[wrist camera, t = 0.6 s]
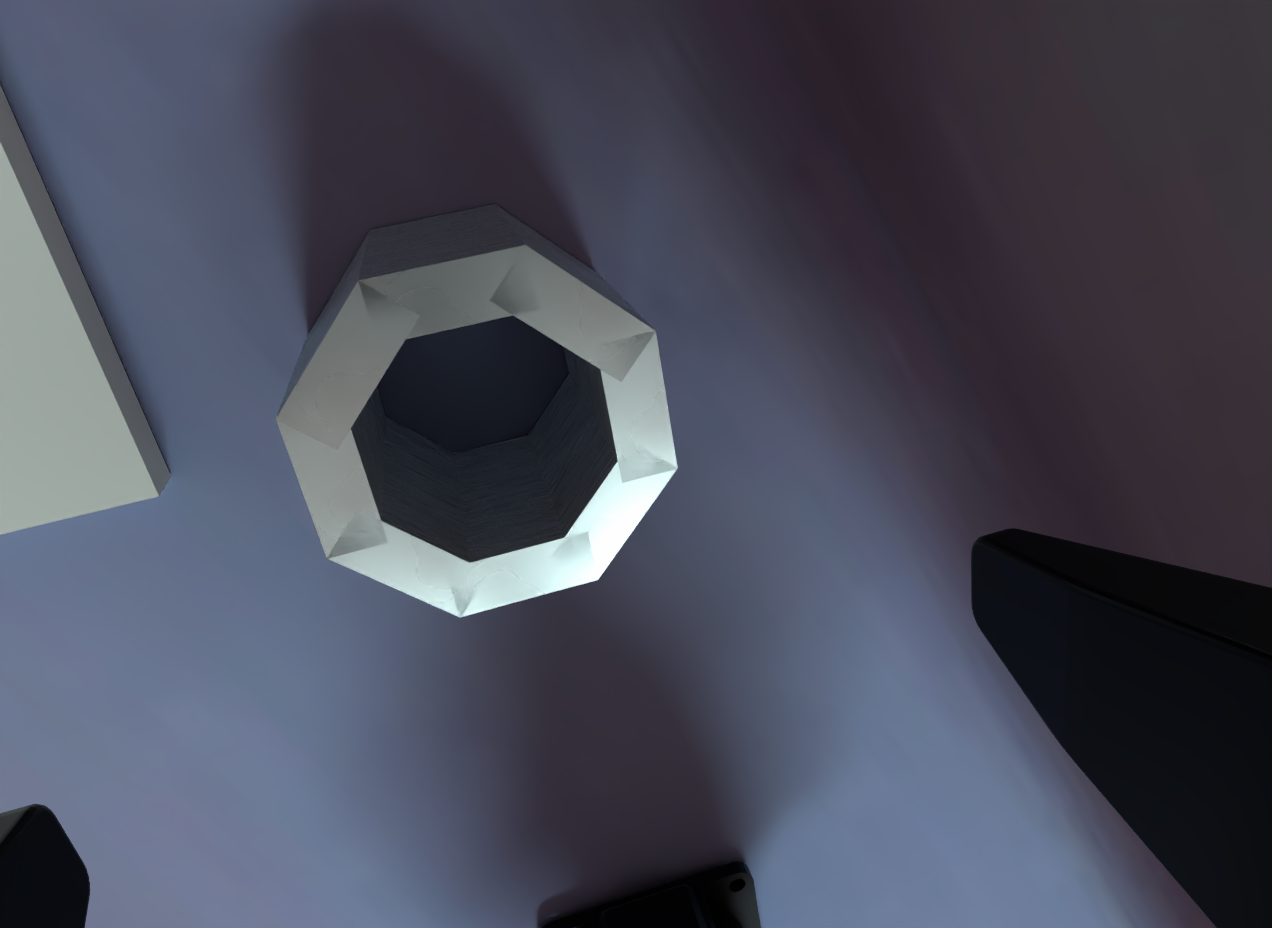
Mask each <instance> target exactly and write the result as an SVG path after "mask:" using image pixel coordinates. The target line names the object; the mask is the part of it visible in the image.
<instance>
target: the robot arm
mask: <svg viewBox="0 0 1272 928" xmlns="http://www.w3.org/2000/svg"><path fill="white" fill-rule="evenodd" d="M971 603H972V610H973V615H974V618H975V620H976V623H977V625H978V627H979V628H980V630H981V632H982V633H983V634H984V636H985V637H986V639H987V640H988V642H989V643H990V645H991V646H992V647H993V649H994V650H995V652H996V653H997V655H998V656H999V658H1000V659H1001V660H1002V662H1003V663H1004V665H1005V666H1006V668H1007V669H1008V671H1009V672H1010V673H1011V675H1012V676H1013V678H1014V679H1015V681H1016V682H1017V684H1018V685H1019V686H1020V688H1021V689H1022V691H1023V692H1024V694H1025V695H1026V697H1027V698H1028V699H1029V701H1030V702H1031V704H1032V705H1033V707H1034V708H1035V710H1036V711H1037V712H1038V714H1039V715H1040V717H1041V718H1042V720H1043V721H1044V723H1045V724H1046V725H1047V727H1048V728H1049V730H1050V731H1051V732H1052V734H1053V735H1054V736H1055V738H1056V739H1057V740H1058V742H1059V743H1060V744H1061V746H1062V747H1063V748H1064V749H1065V751H1066V752H1067V753H1068V754H1069V756H1070V757H1071V758H1072V759H1073V760H1074V762H1075V763H1076V764H1077V765H1078V766H1079V768H1080V769H1081V770H1082V771H1083V772H1084V773H1085V775H1086V776H1087V777H1088V778H1089V779H1090V780H1091V782H1092V783H1093V784H1094V785H1095V786H1096V787H1097V789H1098V790H1099V791H1100V792H1101V793H1102V794H1103V796H1104V797H1105V798H1106V799H1107V800H1108V801H1109V803H1110V804H1111V805H1112V806H1113V807H1114V808H1115V810H1116V811H1117V812H1118V813H1119V814H1120V815H1121V817H1122V818H1123V819H1124V820H1125V821H1126V822H1127V824H1128V825H1129V826H1130V827H1131V828H1132V829H1133V831H1134V832H1135V833H1136V834H1137V835H1138V836H1139V838H1140V839H1141V840H1142V841H1143V842H1144V843H1145V845H1146V846H1147V847H1148V848H1149V849H1150V850H1151V852H1152V853H1153V854H1154V855H1155V856H1156V857H1157V859H1158V860H1159V861H1160V862H1161V863H1162V864H1163V866H1164V867H1165V868H1166V869H1167V870H1168V871H1169V873H1170V874H1171V875H1172V876H1173V877H1174V878H1175V880H1176V881H1177V882H1178V883H1179V884H1180V885H1181V886H1182V888H1183V889H1184V890H1185V891H1186V892H1187V893H1188V895H1189V896H1190V897H1191V898H1192V899H1193V900H1194V902H1195V903H1196V904H1197V905H1198V906H1199V907H1200V909H1201V910H1202V911H1203V912H1204V913H1205V914H1206V916H1207V917H1208V918H1209V919H1210V920H1211V921H1212V923H1213V924H1214V925H1215V926H1216V927H1217V928H1272V588H1270V587H1266V586H1262V585H1257V584H1253V583H1249V582H1244V581H1240V580H1236V579H1231V578H1227V577H1223V576H1218V575H1214V574H1210V573H1206V572H1201V571H1197V570H1193V569H1188V568H1184V567H1180V566H1175V565H1171V564H1167V563H1162V562H1158V561H1154V560H1149V559H1145V558H1141V557H1137V556H1132V555H1128V554H1124V553H1119V552H1115V551H1111V550H1106V549H1102V548H1098V547H1093V546H1089V545H1085V544H1080V543H1076V542H1072V541H1068V540H1063V539H1059V538H1055V537H1050V536H1046V535H1042V534H1037V533H1033V532H1029V531H1024V530H1020V529H1015V528H1013V529H1006V530H1002V531H999V532H995V533H992V534H988V535H985V536H981V537H979V538H978V539H977V540H976V541H975V542H974V543H973V546H972V551H971ZM89 896H90V882H89V876H88V873H87V869H86V867H85V865H84V863H83V861H82V860H81V858H80V856H79V855H78V853H77V851H76V850H75V848H74V846H73V845H72V843H71V841H70V840H69V838H68V836H67V834H66V833H65V831H64V829H63V828H62V826H61V824H60V823H59V821H58V819H57V818H56V816H55V815H54V813H53V812H52V811H51V810H50V809H49V808H47V807H46V806H44V805H39V804H32V805H29V806H25V807H22V808H18V809H15V810H11V811H7V812H4V813H0V928H85V922H86V916H87V909H88V903H89ZM542 928H761V927H760V920H759V914H758V907H757V901H756V894H755V887H754V881H753V878H752V876H751V873H750V871H749V869H748V867H747V865H746V864H744V863H742V862H733V863H729V864H726V865H723V866H720V867H717V868H714V869H711V870H708V871H705V872H702V873H699V874H696V875H693V876H690V877H687V878H683V879H680V880H677V881H674V882H671V883H668V884H665V885H662V886H659V887H656V888H653V889H650V890H647V891H644V892H641V893H638V894H635V895H632V896H629V897H626V898H623V899H619V900H616V901H613V902H610V903H607V904H604V905H601V906H598V907H595V908H592V909H589V910H586V911H583V912H580V913H577V914H574V915H571V916H568V917H565V918H562V919H559V920H555V921H552V922H550V923H548V924H546V925H544V926H543V927H542Z"/></svg>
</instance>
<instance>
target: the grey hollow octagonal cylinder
mask: <svg viewBox="0 0 1272 928" xmlns="http://www.w3.org/2000/svg"><path fill="white" fill-rule="evenodd" d="M512 315H513V316H515V317H517V318H518V319H520V320H521V321H523V322H525V323H526V324H528V325H530V326H531V327H533V328H534V329H536V330H538V331H539V332H541V333H542V334H544V335H546V336H547V337H549V338H551V339H552V340H554V341H555V342H557V343H559V344H560V345H562V346H563V348H564V353H565V358H566V363H567V368H568V373H569V375H568V376H567V378H566V379H565V381H564V382H563V384H562V385H561V387H560V388H559V390H558V391H557V393H556V394H555V396H554V397H553V399H552V400H551V402H550V403H549V405H548V406H547V408H546V409H545V411H544V412H543V414H542V415H541V417H540V418H539V420H538V421H537V422H536V424H535V425H534V427H533V428H532V430H531V431H530V433H529V434H528V435H526V436H522V437H518V438H514V439H510V440H506V441H502V442H498V443H494V444H489V445H485V446H481V447H477V448H473V449H469V450H465V451H461V452H457V453H454V452H452V451H450V450H448V449H446V448H444V447H442V446H441V445H439V444H437V443H435V442H433V441H431V440H429V439H427V438H425V437H423V436H422V435H420V434H418V433H416V432H414V431H412V430H410V429H408V428H406V427H405V426H403V425H401V424H399V423H397V422H395V421H393V420H391V419H389V418H387V416H386V413H385V410H384V407H383V404H382V400H381V397H380V394H379V391H378V387H377V385H378V383H379V382H380V380H381V378H382V377H383V375H384V373H385V372H386V370H387V369H388V367H389V365H390V364H391V362H392V361H393V359H394V357H395V356H396V354H397V352H398V351H399V349H400V348H401V346H402V344H403V343H404V341H405V339H410V338H414V337H419V336H423V335H428V334H432V333H436V332H441V331H445V330H450V329H454V328H459V327H463V326H468V325H472V324H477V323H481V322H486V321H490V320H495V319H499V318H503V317H508V316H512ZM276 421H277V424H278V427H279V429H280V432H281V435H282V437H283V440H284V443H285V446H286V448H287V451H288V454H289V457H290V459H291V462H292V465H293V467H294V470H295V473H296V476H297V478H298V481H299V484H300V486H301V489H302V492H303V495H304V497H305V500H306V503H307V506H308V508H309V511H310V514H311V516H312V519H313V522H314V525H315V527H316V530H317V533H318V535H319V538H320V541H321V544H322V546H323V549H324V552H325V555H326V557H327V559H329V560H332V561H334V562H336V563H338V564H341V565H343V566H345V567H347V568H350V569H352V570H354V571H356V572H359V573H361V574H363V575H366V576H368V577H370V578H372V579H375V580H377V581H379V582H381V583H384V584H386V585H388V586H390V587H393V588H395V589H397V590H399V591H402V592H404V593H406V594H408V595H411V596H413V597H415V598H417V599H420V600H422V601H424V602H426V603H429V604H431V605H433V606H435V607H438V608H440V609H442V610H444V611H447V612H449V613H451V614H453V615H456V616H458V617H463V616H467V615H471V614H474V613H478V612H482V611H485V610H489V609H493V608H496V607H500V606H504V605H507V604H511V603H515V602H518V601H522V600H526V599H529V598H533V597H537V596H540V595H544V594H548V593H552V592H555V591H559V590H563V589H566V588H570V587H574V586H577V585H581V584H585V583H588V582H592V581H596V580H598V579H599V577H600V576H601V575H602V573H603V572H604V570H605V569H606V568H607V566H608V565H609V563H610V562H611V561H612V559H613V558H614V556H615V555H616V554H617V552H618V551H619V550H620V548H621V547H622V545H623V544H624V543H625V541H626V540H627V538H628V537H629V536H630V534H631V533H632V531H633V530H634V529H635V527H636V526H637V524H638V523H639V522H640V520H641V519H642V517H643V516H644V515H645V513H646V512H647V510H648V509H649V508H650V506H651V505H652V503H653V502H654V501H655V499H656V498H657V496H658V495H659V494H660V492H661V491H662V489H663V488H664V487H665V485H666V484H667V482H668V481H669V480H670V478H671V477H672V475H673V474H674V473H675V471H676V470H677V469H678V467H677V461H676V455H675V449H674V443H673V436H672V430H671V424H670V418H669V411H668V405H667V399H666V392H665V386H664V380H663V374H662V367H661V361H660V355H659V349H658V342H657V336H656V330H655V329H654V328H653V327H651V326H650V325H649V324H648V323H647V322H646V321H645V320H644V319H643V318H642V317H641V316H640V315H639V314H638V313H637V312H636V311H635V310H634V309H633V308H632V307H631V306H630V305H629V304H628V303H627V302H626V301H625V300H624V299H623V298H622V297H621V296H620V295H619V294H618V293H617V292H616V291H615V290H614V289H613V288H612V287H611V286H610V285H609V284H608V283H607V282H606V281H605V280H604V279H603V278H602V277H601V276H600V275H599V274H598V273H597V272H596V271H594V270H592V269H591V268H590V267H588V266H587V265H585V264H584V263H582V262H581V261H579V260H578V259H576V258H575V257H573V256H572V255H570V254H569V253H567V252H566V251H564V250H563V249H561V248H560V247H558V246H557V245H555V244H554V243H552V242H551V241H549V240H548V239H546V238H545V237H543V236H542V235H540V234H539V233H537V232H536V231H534V230H533V229H531V228H530V227H529V226H527V225H526V224H524V223H523V222H521V221H520V220H518V219H517V218H515V217H514V216H512V215H511V214H509V213H508V212H506V211H505V210H503V209H502V208H500V207H499V206H497V205H496V204H492V205H487V206H482V207H478V208H473V209H468V210H463V211H458V212H453V213H448V214H443V215H438V216H434V217H429V218H424V219H419V220H414V221H409V222H404V223H399V224H394V225H390V226H385V227H380V228H375V229H370V231H369V232H368V234H367V236H366V238H365V239H364V241H363V243H362V244H361V246H360V248H359V249H358V251H357V253H356V254H355V256H354V258H353V260H352V261H351V263H350V265H349V266H348V268H347V270H346V271H345V273H344V275H343V276H342V278H341V280H340V282H339V283H338V285H337V287H336V288H335V290H334V292H333V293H332V295H331V297H330V299H329V300H328V302H327V304H326V305H325V307H324V309H323V310H322V312H321V314H320V315H319V317H318V319H317V321H316V322H315V324H314V326H313V327H312V329H311V331H310V332H309V334H308V336H307V338H306V341H305V344H304V346H303V349H302V351H301V354H300V357H299V359H298V362H297V364H296V367H295V370H294V372H293V375H292V377H291V380H290V383H289V385H288V388H287V390H286V393H285V396H284V398H283V401H282V403H281V406H280V409H279V411H278V414H277V417H276Z"/></svg>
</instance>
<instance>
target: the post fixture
mask: <svg viewBox="0 0 1272 928" xmlns="http://www.w3.org/2000/svg"><path fill="white" fill-rule="evenodd" d="M170 477H171V475H170V473H169V470H168V468H167V466H166V464H165V461H164V459H163V457H162V454H161V452H160V450H159V447H158V445H157V443H156V441H155V438H154V436H153V434H152V431H151V429H150V427H149V425H148V422H147V420H146V418H145V415H144V413H143V411H142V408H141V406H140V404H139V402H138V399H137V397H136V395H135V392H134V390H133V388H132V386H131V383H130V381H129V379H128V376H127V374H126V372H125V369H124V367H123V365H122V363H121V360H120V358H119V356H118V353H117V351H116V349H115V347H114V344H113V342H112V340H111V337H110V335H109V333H108V330H107V328H106V326H105V324H104V321H103V319H102V317H101V314H100V312H99V310H98V308H97V305H96V303H95V301H94V298H93V296H92V294H91V291H90V289H89V287H88V285H87V282H86V280H85V278H84V275H83V273H82V271H81V269H80V266H79V264H78V262H77V259H76V257H75V255H74V252H73V250H72V248H71V246H70V243H69V241H68V239H67V236H66V234H65V232H64V230H63V227H62V225H61V223H60V220H59V218H58V216H57V213H56V211H55V209H54V207H53V204H52V202H51V200H50V197H49V195H48V193H47V191H46V188H45V186H44V184H43V181H42V179H41V177H40V174H39V172H38V170H37V168H36V165H35V163H34V161H33V158H32V156H31V154H30V152H29V149H28V147H27V145H26V142H25V140H24V138H23V135H22V133H21V131H20V129H19V126H18V124H17V122H16V119H15V117H14V115H13V113H12V110H11V108H10V106H9V103H8V101H7V99H6V96H5V94H4V92H3V90H2V87H1V85H0V534H4V533H9V532H13V531H17V530H21V529H25V528H29V527H34V526H38V525H42V524H46V523H50V522H54V521H59V520H63V519H67V518H71V517H75V516H79V515H84V514H88V513H92V512H96V511H100V510H104V509H109V508H113V507H117V506H121V505H125V504H129V503H134V502H138V501H142V500H146V499H150V498H154V497H159V496H160V494H161V492H162V490H163V489H164V487H165V485H166V484H167V482H168V480H169V479H170Z"/></svg>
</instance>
